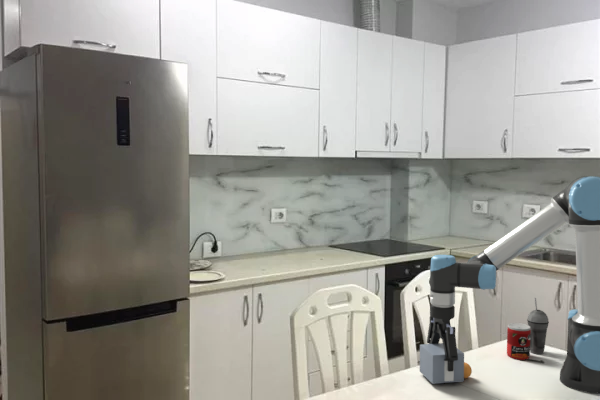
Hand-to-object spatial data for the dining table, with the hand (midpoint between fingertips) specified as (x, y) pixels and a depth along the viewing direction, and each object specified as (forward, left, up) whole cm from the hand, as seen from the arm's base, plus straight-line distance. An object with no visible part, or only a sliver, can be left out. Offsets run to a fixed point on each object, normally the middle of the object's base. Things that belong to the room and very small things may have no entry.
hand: (441, 373), depth 172 cm
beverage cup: (-39, -30, -2) cm, 49 cm away
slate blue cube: (0, 0, -1) cm, 1 cm away
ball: (-7, -2, +1) cm, 8 cm away
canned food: (-31, -25, -2) cm, 40 cm away
